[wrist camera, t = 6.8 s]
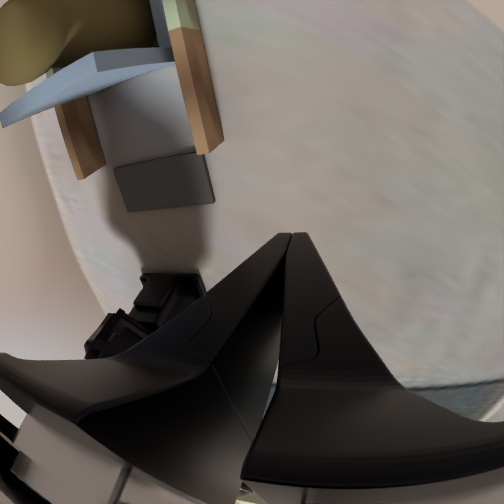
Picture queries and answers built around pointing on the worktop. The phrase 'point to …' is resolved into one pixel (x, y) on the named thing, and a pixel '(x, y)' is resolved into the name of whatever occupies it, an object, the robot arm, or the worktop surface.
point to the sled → (94, 73)
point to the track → (192, 85)
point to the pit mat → (165, 182)
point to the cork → (67, 33)
